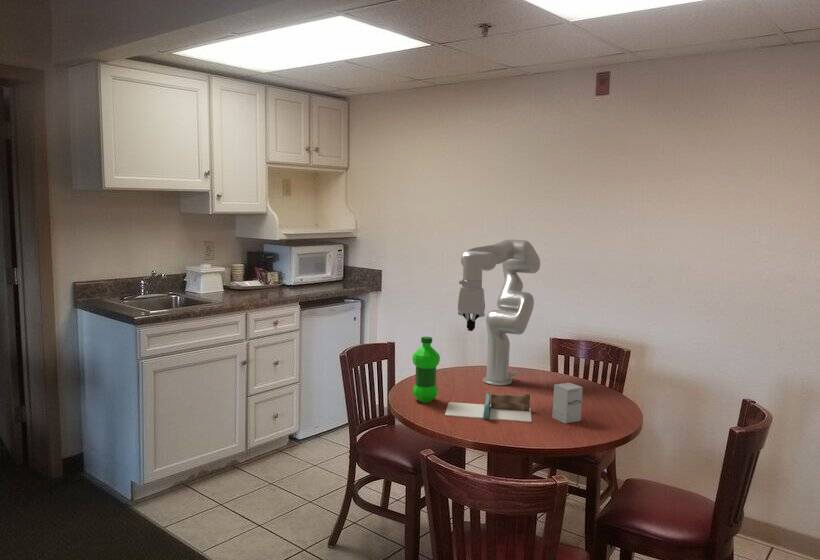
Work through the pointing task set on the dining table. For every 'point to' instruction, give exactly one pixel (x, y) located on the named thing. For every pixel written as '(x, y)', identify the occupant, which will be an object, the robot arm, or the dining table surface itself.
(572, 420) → the supplement box
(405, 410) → the dining table surface
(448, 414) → the card
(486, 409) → the teal bar
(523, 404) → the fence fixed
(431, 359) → the plastic bottle
